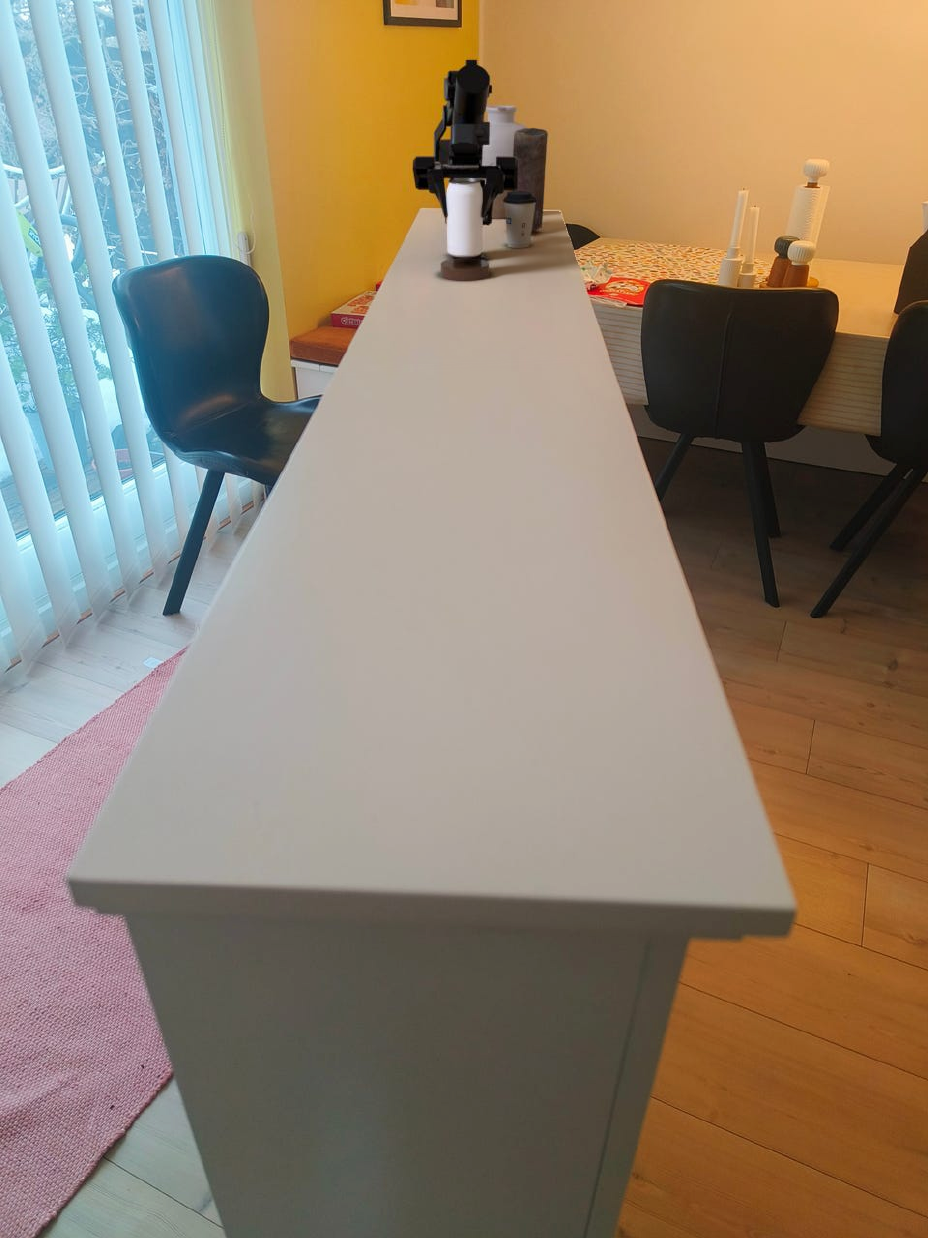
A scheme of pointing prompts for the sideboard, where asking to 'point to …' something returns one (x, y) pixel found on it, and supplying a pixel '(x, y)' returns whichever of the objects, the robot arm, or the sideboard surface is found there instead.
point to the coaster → (464, 269)
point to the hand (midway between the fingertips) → (463, 215)
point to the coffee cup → (519, 217)
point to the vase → (500, 145)
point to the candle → (532, 167)
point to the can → (464, 217)
